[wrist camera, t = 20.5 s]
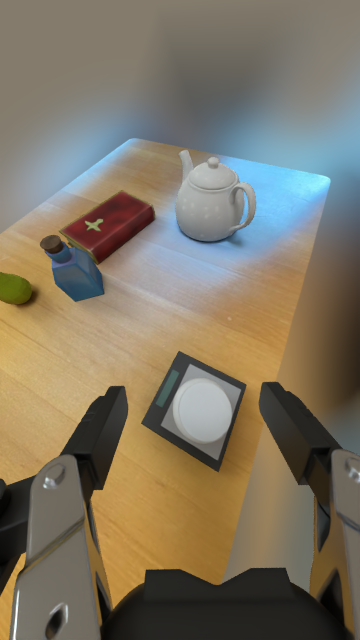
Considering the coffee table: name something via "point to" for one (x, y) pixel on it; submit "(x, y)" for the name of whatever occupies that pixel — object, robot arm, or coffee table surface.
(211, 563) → the coffee table surface
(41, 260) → the coffee table surface
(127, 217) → the hardcover book
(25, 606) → the robot arm
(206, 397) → the pill bottle
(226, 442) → the scale
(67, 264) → the perfume bottle
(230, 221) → the teapot
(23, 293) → the fruit
